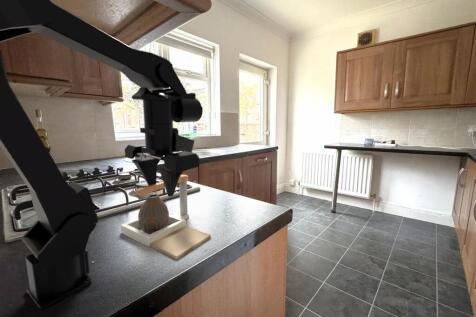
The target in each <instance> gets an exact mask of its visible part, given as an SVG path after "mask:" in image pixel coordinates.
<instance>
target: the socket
mask: <svg viewBox="0 0 476 317" xmlns="http://www.w3.org/2000/svg"><path fill="white" fill-rule="evenodd" d="M178 184H179V186H178V187H179V188H178V189H179V213H176V214H174V215H173V214H170V213H169V221H168V225H167V226H166V227H165V228H163V229H161V230H158V231H156V232H154V233H152V234H148V233H146V232H144V231H143V230H140V229H139V228H141V227H140V225H139V221H138V218H135V219H132V220H130V221H127V222H124V223H122V224H120V233H121V235H124V236H127V237H128V238H130V239H132V240H134V241H136V242H138V243H140V244H142V245H144V246H146V247H151V246H150V243H152V242H154V241H156V240H158V239H160V238H162V237H164V236H166V235H168V234H170V233H172V232H174V231H176V230H178V229H180V228H182V227H184V226H187V220H186V219H188V218H190V214H188V181H186V182H180V183H178Z"/></svg>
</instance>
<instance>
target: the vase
mask: <svg viewBox="0 0 476 317" xmlns="http://www.w3.org/2000/svg"><path fill="white" fill-rule="evenodd" d="M169 214H170V213H169V208H168V205H167V204H166V203H165V202H164V201H163V200H162V199H161V197H160V195H159V194H156V193H155V194H154V193H153V194H148V195H147V197H146V199H145V201H144V202H143V204H142V205H141V207H140V208H139V211H138V216H137V219H138V221H139V225H140V227H139V228H140V229H141V231H143V232H145V233H147V234H149V235H150V234H152V233H154V232H156V231H158V230H161V229H163V228H165V227H167V226H168V225H169V223H168V221H169Z"/></svg>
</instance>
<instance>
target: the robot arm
mask: <svg viewBox="0 0 476 317" xmlns="http://www.w3.org/2000/svg"><path fill="white" fill-rule="evenodd" d="M33 33H36V34H39V35H41V36H44V37H46V38H47V39H50V40H52V41H55V42H56V43H59V44H61V45H63V46H65V47H67V48H70V49H71V50H74V51H76V52H78V53H80V54H83V55H85V56H87V57H89V58H91V59H94V60H96V61H98V62H100V63H102V64H104V65H107V66H109V67H111V68H113V69H115V70H117V71H118V72H120V73H121V74H123V75H124V76H126V78H127V79H128V81H130V82H132V83H133V84H134V85H136V86H138V87H139V89H138V90H137V91H136V92H135V93H134V94H132V96H131V99H132V100H137V101H142V106H143V107H142V108H143V125H144V127H140V128H139V131H140V133H142V134H144V140H145V142H143V143H142V142H141V143H135V144H128V145H127V146H126V147H125V148H124V157H125V158H127V159H131V162H132V163H133V164H134V166H136V169H137V170H138V171H139V173H140V174H141V176H142V177H143V179H144V181H145V182H146V184H147V186H149V185H153V184H156V183H157V168H158V164H159V163H160V162H161V161H163V164H164V167H161V168H159V173H160V175H161V179H162V182H164V186H165V188H164V189H165V192H166V194H167V196H168V197H169V198H170V197H173V196H174V194H175V191H176V189H177V185H178V184H179V183H178V180H179V178H180V176H181V175H183V173H184V172H185V171H188V170H189V171H190V170H192V169H195V168H199V167H200V156H199V155H198V154H197V153H195V152H193V150H194V149H193V148H194V146H195V145H194V144H195V140H194V139H191V138H188V137H185V136H183V135H180V133H179V130H178V128H176V127H174V122H175V123H196V122H198V121H200V120H201V119H202V117H203V112H204V111H203V110H204V109H203V106H202V103H201V101H200V100H199V99H198V98H197V95H196V94H197V93H196V92H189V93H188V91H187V90H186V88H185V87H184V85H183V82H181V80H180V78H179V76H178V74H177V73H176V71H175V69H174V67H173V66H174V65H173V63H172V62H171V61H170V59H169V60H168V59H167V58H166V57H164V56H161V55H158V54H155V53H153V52H150V51H145V50H139V49H136V48H134V47H131V46H129V45H127V44H126V43H124V42H123V41H121V40H119V39H117V38H115V37H114V36H112V35H110V34H108V33H107V32H105V31H103V30H101V29H100V28H98V27H96V26H94V24H91V23H89V22H87V21H85V20H84V19H82V18H81V17H79V16H77V15H75V14H73V13H71V12H70V11H68V10H67V9H65V8H63V7H61V6H59V5H57V4H56V3H54V2H53V1H51V0H0V43H2V42H5V41H9V40H12V39H15V38H18V37H23V36H25V35H29V34H33ZM10 85H11V84H10V82H9V79H8V75H7V70H6V66H5V63H4V58H3V53H2V50H1V49H0V147H1V149H2V151H3V152H4V154H5V155H6V157H7V158H8V160H9V161H10V163H11V164H12V166H13V167H14V169H15V170H16V171H17V173H18V175H19V176H20V177H21V179H22V180H23V182H24V183H25V185H26V186H27V188H28V191H29V194H30V197H31V198H30V199H31V202H32V205H33V209H34V211H35V214H36V216H37V219H38V220H36V222H35V223H34V224H33V225H32V226H31V227H30V228H29V229H28V230H27V231H26V232H25V233H24V234H23V235H22V236H21V240H22V242H23V244H25V246H26V247H27V249H29V250H30V252H31V254H29V255H26V256H25V257H24V258H25V264H26V269H27V277H28V284H29V286H27V287H26V289H25V290H26V293H27V294H28V295H29V297H30V298H31V299H32V300H33V301H34V303H35V304H36V306H37V307H38V308H39V309H40V310H43V309H45V308H47V307H49V306H51V305H53V304H55V303H57V302H59V301H60V300H62V299H64V298H65V297H68V296H70V295H72V294H73V293H75V292H78V290H81V289H82V288H85V287H86V286H89V285H90V284H91V283H93V278H92V277H90V276H89V274H90V273H91V270H90V269H91V268H90V267H91V266H90V258H89V257H90V256H89V251H88V250H87V245H88V241H89V239H90V235H91V234H92V232H93V231H94V230H95V229H96V227H97V224H98V223H99V217H98V213H97V211H99V210H101V209H100V207H99V206H97V205H96V204H95V203H94V201H93V199H92V195H91V192H90V189H89V188H88V187H86V186H84V185H82V184H79V183H76V182H74V181H72V182H70V183H68V181H67V180H66V179H65V178H64V175H63V174H62V172H61V170H60V169H59V168H58V165H57V164H56V162H55V160H54V159H53V157H52V155H51V154H50V152H49V150H48V148H47V146H45V143H44V142H43V140H42V138H41V136H40V135H39V133H38V130H36V128H35V126H34V124H33V122H32V121H31V119H30V118H29V115H28V114H27V112H26V111H25V109H24V107H23V106H22V104H21V102H20V100H19V99H18V97H17V95H16V94H15V92H14V91H13V88H12V87H11V86H10Z"/></svg>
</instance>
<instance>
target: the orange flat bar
mask: <svg viewBox="0 0 476 317" xmlns="http://www.w3.org/2000/svg"><path fill="white" fill-rule="evenodd" d="M186 181H187V182H189V175H187V174H181V176H180V178H179V180H178V183H177V184H179V183H180V182H186ZM161 189H165V186H164V182H163V181H160V182H156V184H153V185H149V186H148V185H146V186H143V187H140V188H136V189H135V196H139V197H140V196H143V195H146V194H150V193H153V192H156V191H158V190H159V191H160V190H161Z"/></svg>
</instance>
